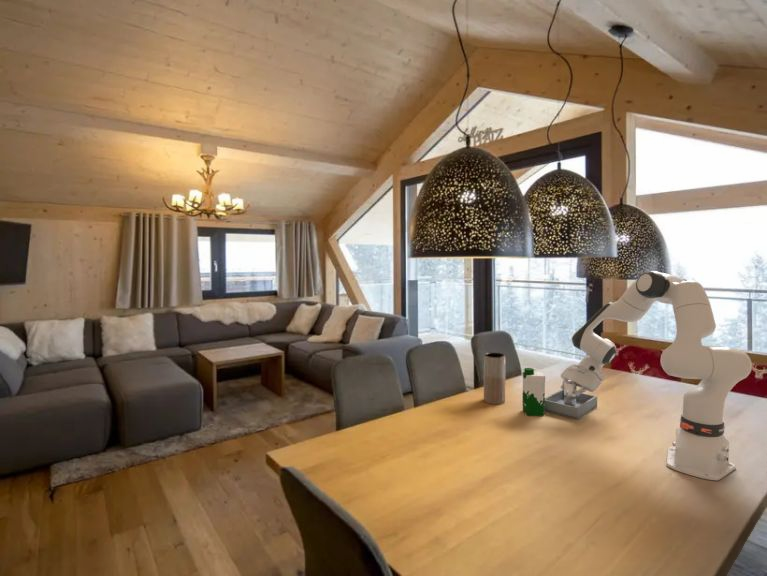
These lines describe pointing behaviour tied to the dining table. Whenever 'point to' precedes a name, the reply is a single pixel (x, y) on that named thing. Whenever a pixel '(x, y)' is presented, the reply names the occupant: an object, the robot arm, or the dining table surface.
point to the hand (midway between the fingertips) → (568, 391)
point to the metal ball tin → (570, 393)
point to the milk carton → (533, 392)
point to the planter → (494, 378)
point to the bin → (557, 406)
